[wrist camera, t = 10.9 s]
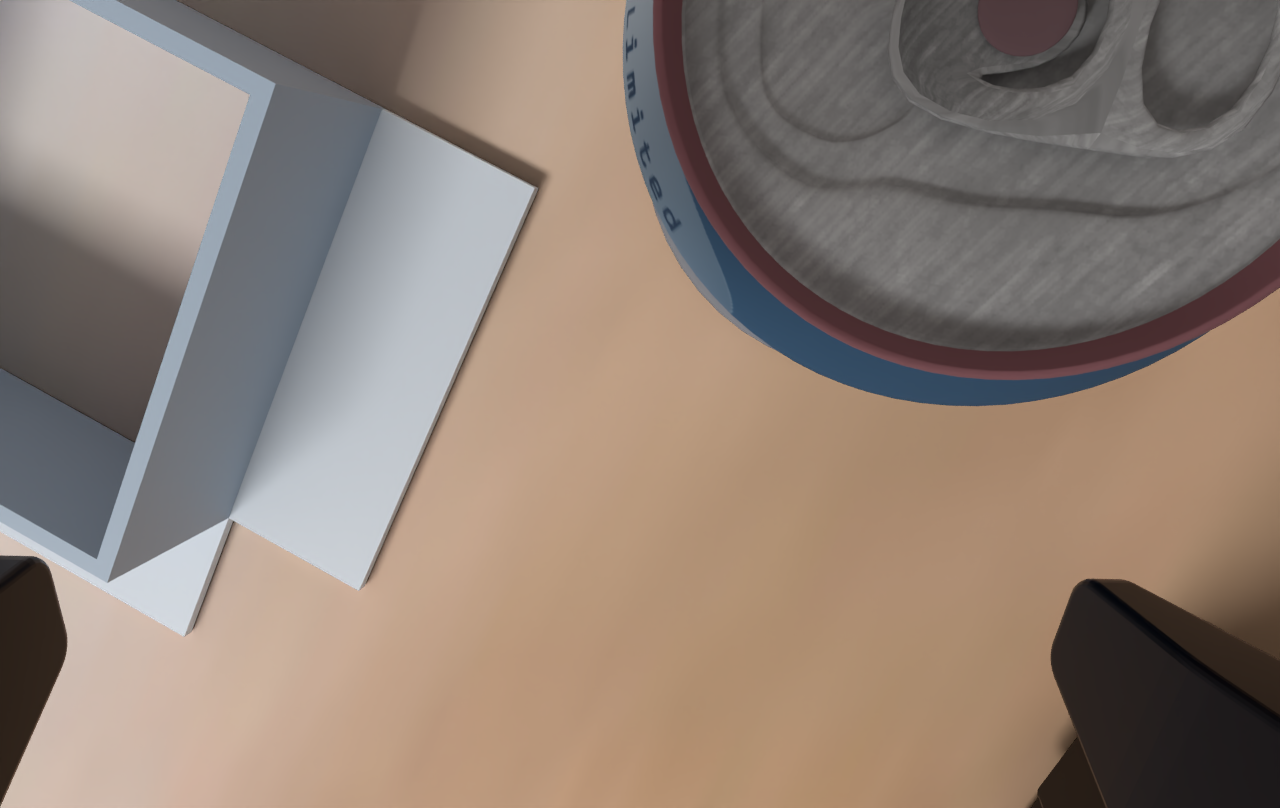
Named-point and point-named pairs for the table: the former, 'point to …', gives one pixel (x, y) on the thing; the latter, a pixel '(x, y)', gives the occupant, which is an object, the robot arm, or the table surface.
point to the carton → (275, 343)
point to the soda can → (965, 180)
